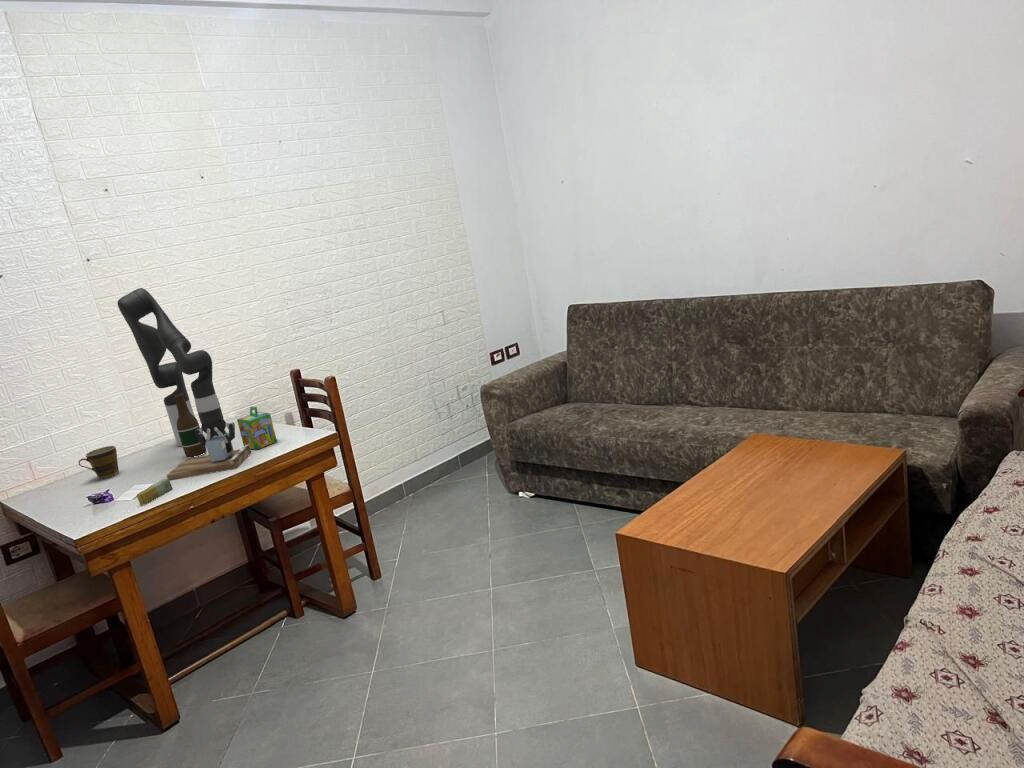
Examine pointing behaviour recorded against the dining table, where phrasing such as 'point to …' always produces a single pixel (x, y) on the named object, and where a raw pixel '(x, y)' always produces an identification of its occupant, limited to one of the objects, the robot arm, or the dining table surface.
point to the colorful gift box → (257, 429)
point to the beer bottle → (187, 428)
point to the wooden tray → (208, 464)
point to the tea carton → (217, 449)
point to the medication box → (154, 491)
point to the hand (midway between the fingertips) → (221, 453)
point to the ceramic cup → (103, 461)
